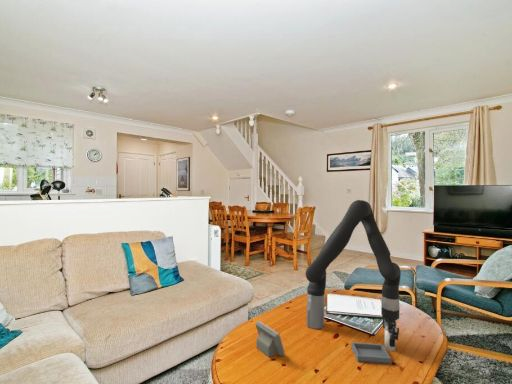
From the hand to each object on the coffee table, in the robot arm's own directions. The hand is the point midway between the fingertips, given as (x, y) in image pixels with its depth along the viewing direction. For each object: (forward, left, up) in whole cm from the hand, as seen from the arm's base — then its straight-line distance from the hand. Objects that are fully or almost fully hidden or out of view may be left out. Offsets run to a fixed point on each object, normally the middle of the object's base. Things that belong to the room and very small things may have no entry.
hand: (390, 343), depth 123 cm
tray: (-11, -7, -2) cm, 13 cm away
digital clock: (-56, -8, -3) cm, 56 cm away
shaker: (0, 0, -2) cm, 2 cm away
